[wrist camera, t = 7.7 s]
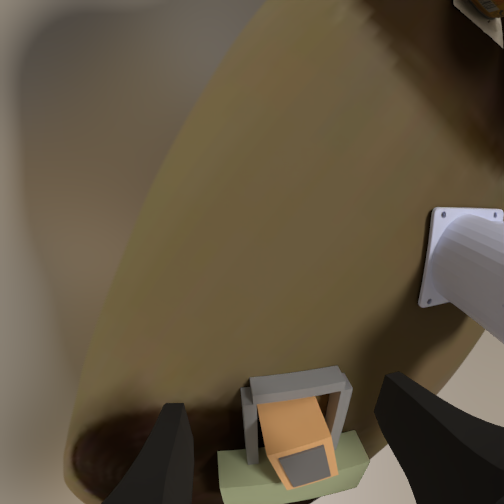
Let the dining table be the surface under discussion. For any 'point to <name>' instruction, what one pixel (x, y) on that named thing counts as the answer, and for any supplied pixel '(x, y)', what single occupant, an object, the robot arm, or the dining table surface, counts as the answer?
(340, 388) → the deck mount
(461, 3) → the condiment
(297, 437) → the orange box grey panel
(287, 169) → the dining table surface
